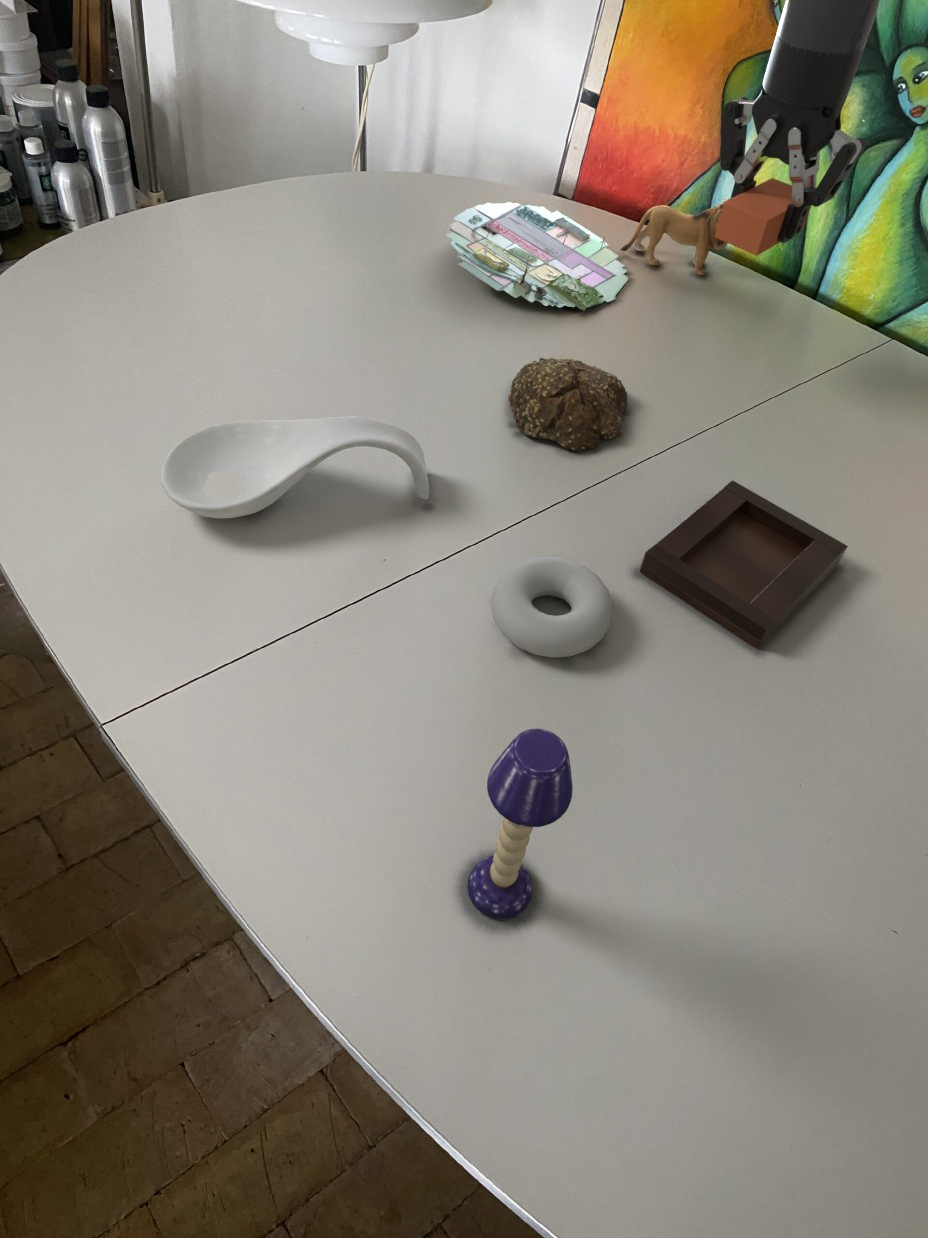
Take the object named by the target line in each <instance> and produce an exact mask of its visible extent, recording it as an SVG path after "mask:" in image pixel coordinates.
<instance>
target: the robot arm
mask: <svg viewBox="0 0 928 1238" xmlns="http://www.w3.org/2000/svg"><path fill="white" fill-rule="evenodd" d="M880 1H881V0H785V2H784V6H783V9H782V11H781V14H780V16H779V20H778V27H777V30H776V35H775V38H774V41H773V45H772V48H771V52H770V55H769V59H768V62H767V66H766V70H765V73H764V77H763V80H762V88H761V89H762V90H761V92H760V93H759V95H758V96H757V97H756V99H753V100H749V98H748V97H746V96H742V97H737V98H736V99H732V100H731V101H729V102H727V103H726V104H725V105H724V107H723V108H724V109H723V121H722V122H723V124H722V135H721V136H722V137H721V149H720V150H721V152H720V162H719V163H720V169H721V170H722V171H725V172H727V171H728V173H730V174H731V176H732V177H733V180H734V184H733V186H732V187H733V188H732V191H731V194H730V197H729V198H730V199H731V198H733V197H735V196H737V195H739V194H741V193H744V192H746V191H748V190H750V189H752V188H754V187H755V186H757V180H755V177H756V176H757V175H758V173H759V172H760V170H761V169H762V168H763V166H764V165H765V163H766V162H767V161H768V160H769V159H778V160H779V161H780V162H782V163H783V164H785V165H786V166H787V165H788V179H789V181H790V182H791V185H792V196H791V201H792V203H790V204H788V207H787V210H786V214H785V217H784V220H783V223H782V226H781V229H780V232H779V235H778V238H777V241H779V242H780V243H781V244H786V243H787V242H790V241H791V240H792V239H794V238H796V237H797V236H799V234H800V233H801V232H802V230H803V229H802V227H803V224H804V221H805V218H806V215H807V213H808V210H809V207H810V205H811V206H813V207H814V208H818V207H820V206H822V205H823V204H825V203H827V202H829V201H831V200H832V199H833V198H834V197H835V196H836V195H837V193H838V192H839V189H841V187H842V185H843V183H844V182H845V180H846V178H847V177H848V176H849V174H850V172H851V171H852V169H853V168H854V166H855V164H856V163H857V161H858V160H859V158H860V156H861V155H862V154H863V152H864V150H865V149H866V143H867V142H866V140H865V138H863V137H857V138H855V139H854V138H853V137H852V136H851V135H849V134H847V133H846V132H844V131H843V130H842V119H841V117H842V116H841V115H842V111H843V108H844V106H845V103H846V101H847V99H848V96H849V93H850V90H851V87H852V84H853V82H854V79H855V76H856V73H857V70H858V68H859V64H860V62H861V59H862V57H863V53H864V51H865V48H866V44H867V42H868V39H869V37H870V34H871V30H872V28H873V25H874V22H875V19H876V16H877V12H878V10H879V6H880ZM752 120H753V124H754V128H755V133H756V137H755V139H754V140H753V142H752V143H751V145H750V146H749V148H748V150H747V151H746V146H747V135H748V134H747V133H748V125H749V124H750V123H751V121H752ZM829 144H831V151H830V157H829V159H830V160H831V161H832V162H831V164H829V167H828V169H827V170H826V171H825V173H824V175H823V176H822V177H821V180H820V182H819V183H818V184H817V178H818V177H817V175H818V173H819V171H820V160H821V159H820V158H821V151H822V150H823V149H824V148H826V146H828V145H829Z"/></svg>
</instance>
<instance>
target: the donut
mask: <svg viewBox="0 0 928 1238" xmlns="http://www.w3.org/2000/svg"><path fill="white" fill-rule="evenodd" d="M494 583H495V584H494V586H493V590H492V594H491V598H490V607H491V612H492V618H493V621H494V622H495V624H496V626H497V627H498V629H499V630H500V632H501V633H502V635H503V636H504V637H505V638H506V639H507V640H508V641H510V642H511V643H512V644H513V645H514V646H516V647H517V648H519V649H520V650H521V649H522V650H523V651H526V652H528V653H530V654H532V655H535V656H541V657H547V658H551V659H552V658H568V657H569V658H570V657H574V656H575V655H579V654H582V653H584V652H587V651H589V650H590V649H592V648H593V647H594V646H595V645H596V644H598V643H600V641H602V640H603V638H604V636H605V635H606V633H607V631H608V630H609V628H610V627H611V625H612V619H613V610H614V604H613V602H612V598H611V595H610V594H611V593H610V592H609V590H608V587H607V586H606V584H605V583H604V582H603V581H602V579H601V578H600V576H599V575H597V574H596V573H595V572H594V571H592V570H591V569H589V568H588V567H587V566H586V565H583V564H581V563H579V562H576V561H574V560H572V559H570V558H564V557H560V556H554V555H548V556H533V557H530V558H527V559H523V560H520V561H517V562H516V563H515V564H512V565H511V566H510V567H508V568H507V569H506V570H504V572H503V573H502V574H501V575H500V577H499V578H498V579H497V581H496V582H494ZM543 596H544V597H545V596H550V597H557V598H559V599H562V600H563V601H564V602H566V603H567V604H569V606H570V608H571V610H570V611H569V612H568V613H564V614H561V615H560V614H559V615H552V614H547V613H544V612H542V611H540V610H538V609H537V608H536V607H535V606H534V605H533V600H535V599H536V598H539V597H543Z"/></svg>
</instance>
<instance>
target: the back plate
mask: <svg viewBox="0 0 928 1238" xmlns="http://www.w3.org/2000/svg"><path fill="white" fill-rule="evenodd" d="M847 549H848V545H847V544H845V543H843V542H842V541H840V540H838V539H837V538H835V537H832V536H831V535H829V534H828V533H826V532H824V531H822V530H820V529H819V528H817V527H815V526H813V525H812V524H810V523H808V522H806V521H805V520H803V519H801V518H800V517H798V516H797V515H795V514H793V513H791V512H790V511H787V510H785V509H784V508H782V507H780V506H779V505H777V504H775V503H773V502H771V501H770V500H768V499H766V498H765V497H763V496H761V495H759V494H757V493H756V492H754V491H752V490H751V489H749V488H747V487H745V486H744V485H743V484H740V483H739V482H737V481H735V480H733V479H732V480H730V481H729V482H728V483H727V484H726V485H725V486H723V488H721V489H720V490H719V491H718V492H716V493H715V494H714V495H713V496H711V497H710V498H709V499H708V500H707V501H706V502H704V503H703V504H702V505H701V506H699V507H698V508H696V510H695V511H693V512H692V513H691V514H690V515H689V516H687V517H686V518H685V519H684V520H682V522H680V523H679V524H678V525H677V526H675V527H674V528H673V529H671V530H670V531H669V532H668V533H667V534H666V535H664V536H663V537H662V538H661V539H660V540H658V541H657V542H656V543H654V544H653V545H652V546H650V547H649V548H648V549H647V550H646V551H645V552H644V556H643V559H642V562H641V566H640V569H639V573H641V574H642V575H644V576H645V577H647V578H648V579H649V580H651V581H653V582H654V583H656V584H657V585H658V586H660V587H662V588H663V589H665V590H667V591H668V592H670V593H671V594H673V596H675V597H677V598H679V599H680V600H681V601H683V602H685V603H686V604H688V605H689V606H691V607H692V608H693V609H695V610H697V611H698V612H700V613H702V614H703V615H705V617H707V618H709V619H710V620H712V621H714V622H715V623H716V624H718V625H720V626H721V627H722V628H724V629H726V630H727V631H729V632H730V633H732V634H733V635H735V636H736V637H737V638H740V639H741V640H742V641H744V642H746V643H747V644H749V645H750V646H751V647H753V648H755V650H756V649H759V647H760V646H761V645H762V644H763V643H764V642H765V641H766V640H767V639H768V638H769V637H770V636H772V634H773V633H774V632H775V631H776V630H777V629H778V628H779V627H780V625H782V624H783V622H784V621H785V620H787V618H788V617H789V616H790V615H792V614H793V612H794V611H795V610H796V609H797V608H798V607H799V606H801V604H802V603H803V602H804V601H805V600H806V599H807V598H808V597H809V596H810V595H811V593H813V592H814V591H815V589H816V588H817V587H818V586H819V585H820V584H822V582H823V581H824V580H825V579H826V578H827V577H829V575H830V574H831V573H832V572H833V571H834V570H835V569H836V567H837V566H838V565H839V563H840V561H841V560H842V558H843V556H844V554H845V552H846V551H847Z"/></svg>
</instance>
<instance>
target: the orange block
mask: <svg viewBox="0 0 928 1238" xmlns="http://www.w3.org/2000/svg"><path fill="white" fill-rule="evenodd" d="M791 196H792V184H789V183H788V182H787V183H786V182H784V181H782V180H778V179H776V178H773V177H771V178H769V179H767V180H765V181H763V182H761V183H759V184H756V185H755V187H754V188H752V189H750V190H748V191H746V192H744V193H741V194H739V195H737V196H735V197H733V198H731V197H730V198H731V199H729V200H727V201H725V202H724V204H723V207H722V211H721V215H720V218H719V222H718V226H717V229H716V233H715V236H714V237H715V238H717V239H720V240H722V241H724V242H726V243H728V244H729V245H731V246H733V247H735V248H737V249H740V250H743V251H745V252H747V253H749V254H752V255H754V256H756V257H757V256H759V255H760V254H762V253H764V252H766V251H768V250H770V249H772V248H774V247H775V246H777V245H778V244H779V243H781V242H779V241H777V238H778V235H779V232H780V229H781V226H782V223H783V220H784V217H785V214H786V210H787V207H788V204H790V203H792V201H791ZM811 208H812V205H810V207H809V210H808V213H807V215H806V218H805V221H804V224H803V227H802V230H804V228H805V225H806V223H807V220H808V218H809V217H808V216H809V213H810V211H811Z"/></svg>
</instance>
